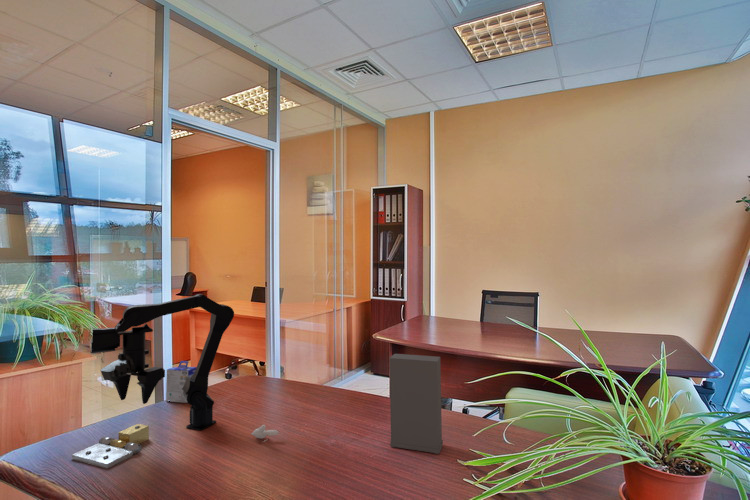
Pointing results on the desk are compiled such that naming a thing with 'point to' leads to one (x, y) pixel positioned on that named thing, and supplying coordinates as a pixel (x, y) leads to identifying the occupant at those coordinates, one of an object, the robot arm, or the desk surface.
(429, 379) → the upright charcoal grey block
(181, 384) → the ink cartridge box
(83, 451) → the steel leaf
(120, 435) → the brass leaf
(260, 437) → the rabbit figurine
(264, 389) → the desk surface
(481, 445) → the desk surface
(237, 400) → the desk surface
